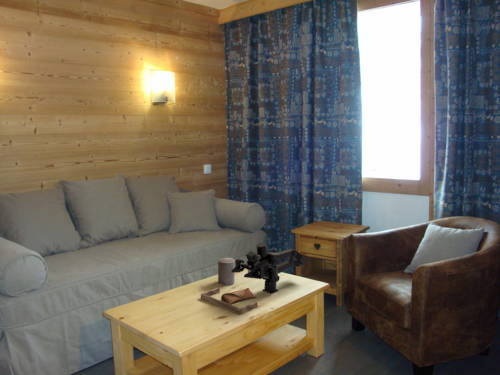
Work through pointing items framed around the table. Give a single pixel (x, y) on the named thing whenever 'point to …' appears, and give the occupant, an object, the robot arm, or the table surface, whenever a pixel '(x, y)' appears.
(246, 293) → the sunglasses case
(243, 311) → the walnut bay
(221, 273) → the pillar candle
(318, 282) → the table surface
